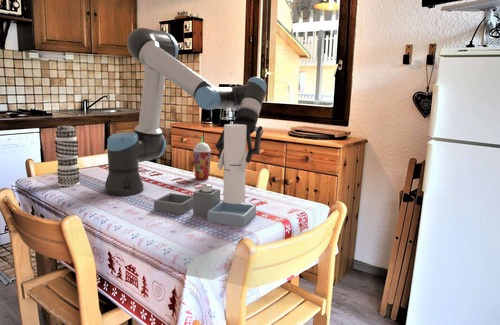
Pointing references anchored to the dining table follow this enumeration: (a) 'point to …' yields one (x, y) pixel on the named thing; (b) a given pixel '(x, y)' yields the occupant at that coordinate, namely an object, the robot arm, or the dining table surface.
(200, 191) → the housing block
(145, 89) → the robot arm
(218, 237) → the dining table surface
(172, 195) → the dark grey square bin
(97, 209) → the dining table surface
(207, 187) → the plunger
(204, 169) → the smoothie
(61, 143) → the decorative candle
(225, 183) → the white tall block
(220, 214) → the tray
